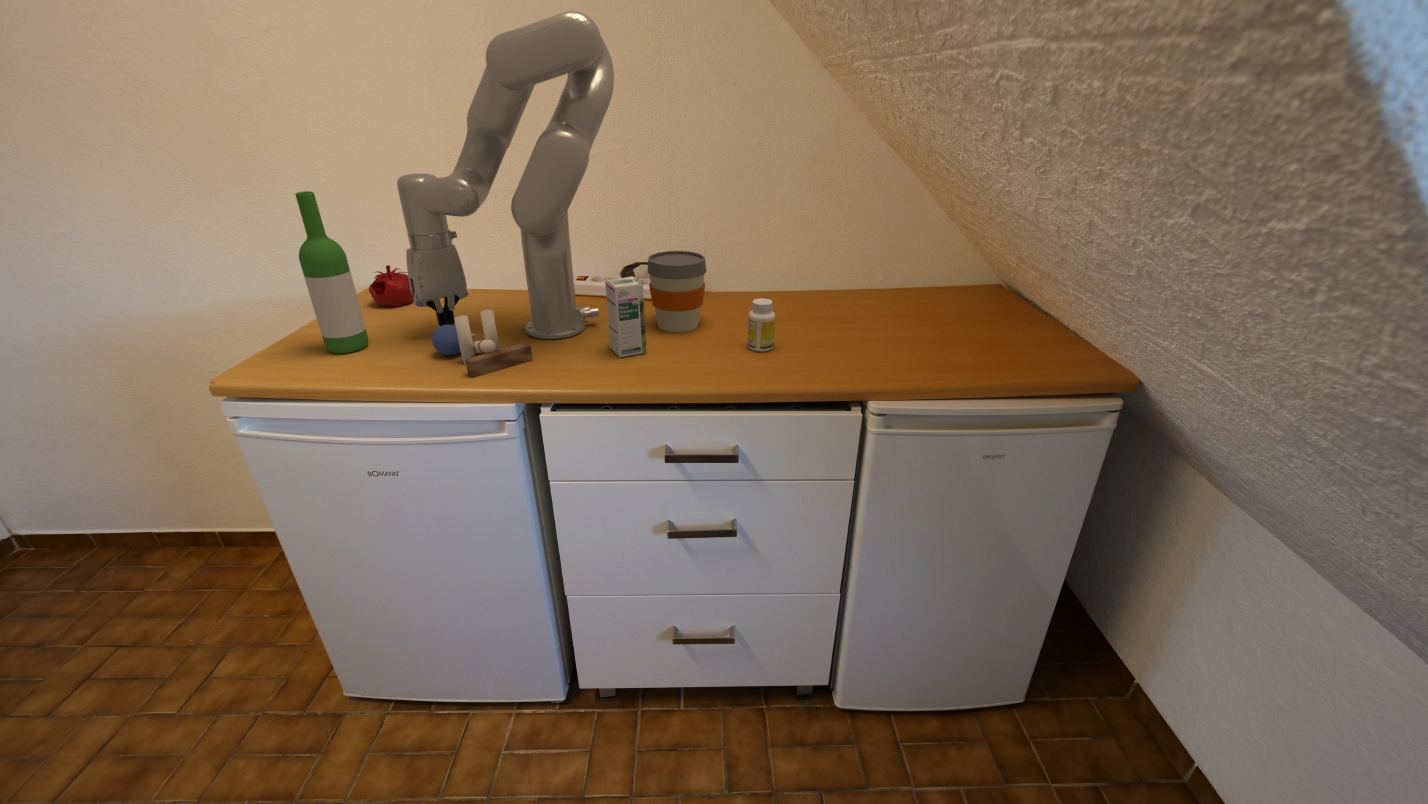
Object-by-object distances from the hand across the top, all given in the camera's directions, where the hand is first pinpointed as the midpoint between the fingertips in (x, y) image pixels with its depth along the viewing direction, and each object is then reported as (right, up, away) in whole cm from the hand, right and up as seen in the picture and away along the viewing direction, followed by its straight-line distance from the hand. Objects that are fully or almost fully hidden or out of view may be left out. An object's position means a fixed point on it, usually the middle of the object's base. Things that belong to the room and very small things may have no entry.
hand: (447, 328), depth 132 cm
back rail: (+16, -9, -13) cm, 23 cm away
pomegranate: (-20, +8, +19) cm, 29 cm away
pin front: (+9, -5, -8) cm, 13 cm away
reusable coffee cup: (+48, +1, +7) cm, 49 cm away
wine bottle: (-17, -5, -6) cm, 19 cm away
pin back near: (+13, -6, -8) cm, 17 cm away
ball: (+4, -3, -10) cm, 11 cm away
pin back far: (+9, -8, -11) cm, 17 cm away
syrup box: (+39, -5, -6) cm, 40 cm away
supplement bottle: (+66, -5, -4) cm, 66 cm away
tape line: (+2, -3, -2) cm, 4 cm away
